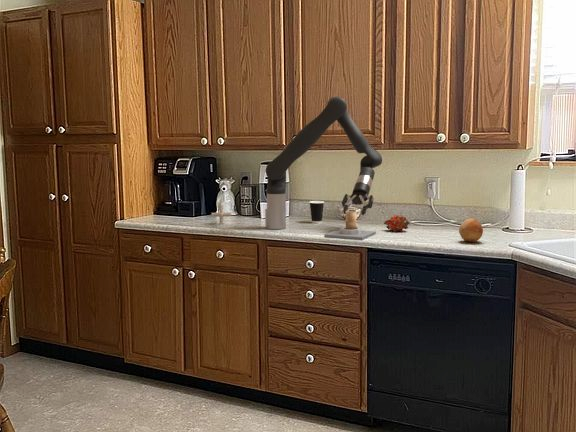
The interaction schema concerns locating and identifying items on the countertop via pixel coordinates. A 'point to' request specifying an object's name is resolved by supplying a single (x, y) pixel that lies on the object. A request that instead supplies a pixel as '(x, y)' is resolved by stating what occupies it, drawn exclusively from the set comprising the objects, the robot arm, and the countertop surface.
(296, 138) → the robot arm
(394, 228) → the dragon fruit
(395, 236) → the countertop surface
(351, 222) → the tan cylinder
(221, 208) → the pipe connector
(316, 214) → the dixie cup
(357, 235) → the hub plate
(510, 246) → the countertop surface
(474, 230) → the onion
